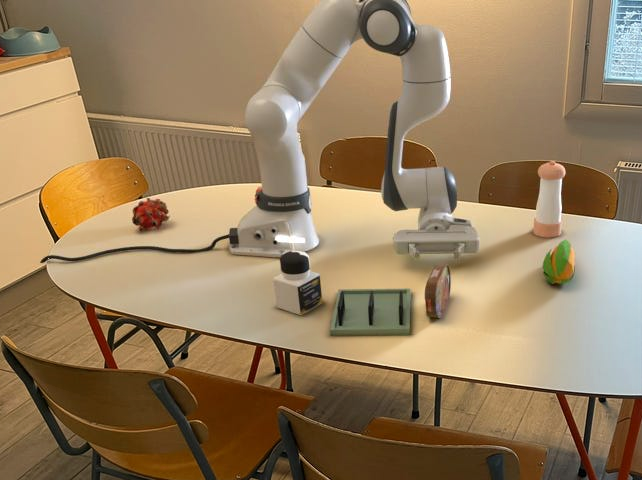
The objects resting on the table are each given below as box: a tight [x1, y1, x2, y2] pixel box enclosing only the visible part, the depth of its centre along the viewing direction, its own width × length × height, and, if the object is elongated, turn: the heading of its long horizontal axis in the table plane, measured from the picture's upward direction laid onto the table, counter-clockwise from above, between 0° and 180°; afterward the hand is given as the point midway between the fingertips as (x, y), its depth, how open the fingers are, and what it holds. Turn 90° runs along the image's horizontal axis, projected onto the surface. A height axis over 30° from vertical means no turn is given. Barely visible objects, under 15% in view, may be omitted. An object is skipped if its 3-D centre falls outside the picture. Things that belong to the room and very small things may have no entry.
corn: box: [542, 239, 576, 286], centre depth 173 cm, size 7×8×20 cm
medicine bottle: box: [272, 251, 323, 316], centre depth 158 cm, size 7×7×12 cm
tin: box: [424, 264, 452, 319], centre depth 158 cm, size 15×3×8 cm, turn 168°
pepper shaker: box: [533, 160, 566, 239], centre depth 193 cm, size 7×7×19 cm
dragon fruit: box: [131, 197, 171, 232], centre depth 198 cm, size 8×8×12 cm
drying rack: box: [329, 288, 412, 337], centre depth 156 cm, size 16×19×5 cm
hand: (437, 255), depth 170 cm, fingers open, 8 cm apart
